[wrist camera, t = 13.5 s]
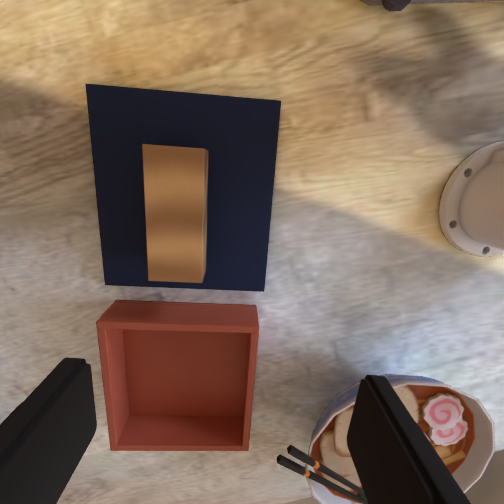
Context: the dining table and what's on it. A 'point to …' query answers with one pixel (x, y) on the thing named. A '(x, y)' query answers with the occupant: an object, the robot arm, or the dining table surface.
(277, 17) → the dining table surface
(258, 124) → the mat
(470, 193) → the robot arm
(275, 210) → the dining table surface
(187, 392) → the red open tray
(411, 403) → the ramen bowl
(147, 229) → the tall wooden block
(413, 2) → the retro computer
